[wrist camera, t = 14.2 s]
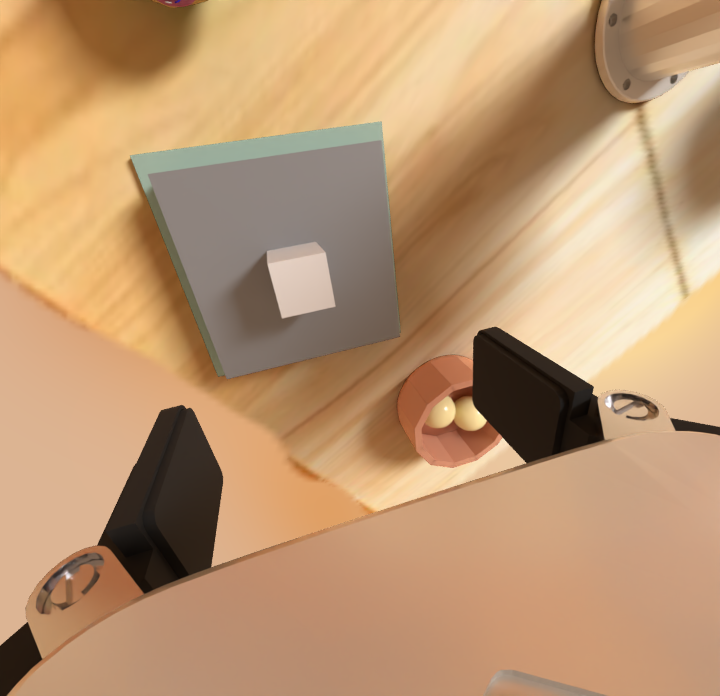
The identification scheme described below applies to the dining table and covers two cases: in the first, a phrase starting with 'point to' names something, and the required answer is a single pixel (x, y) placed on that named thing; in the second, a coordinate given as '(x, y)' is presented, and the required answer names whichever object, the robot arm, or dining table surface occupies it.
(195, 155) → the mat
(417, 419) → the bowl
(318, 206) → the cover
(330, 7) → the dining table surface
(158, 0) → the cupcake
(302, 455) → the dining table surface
